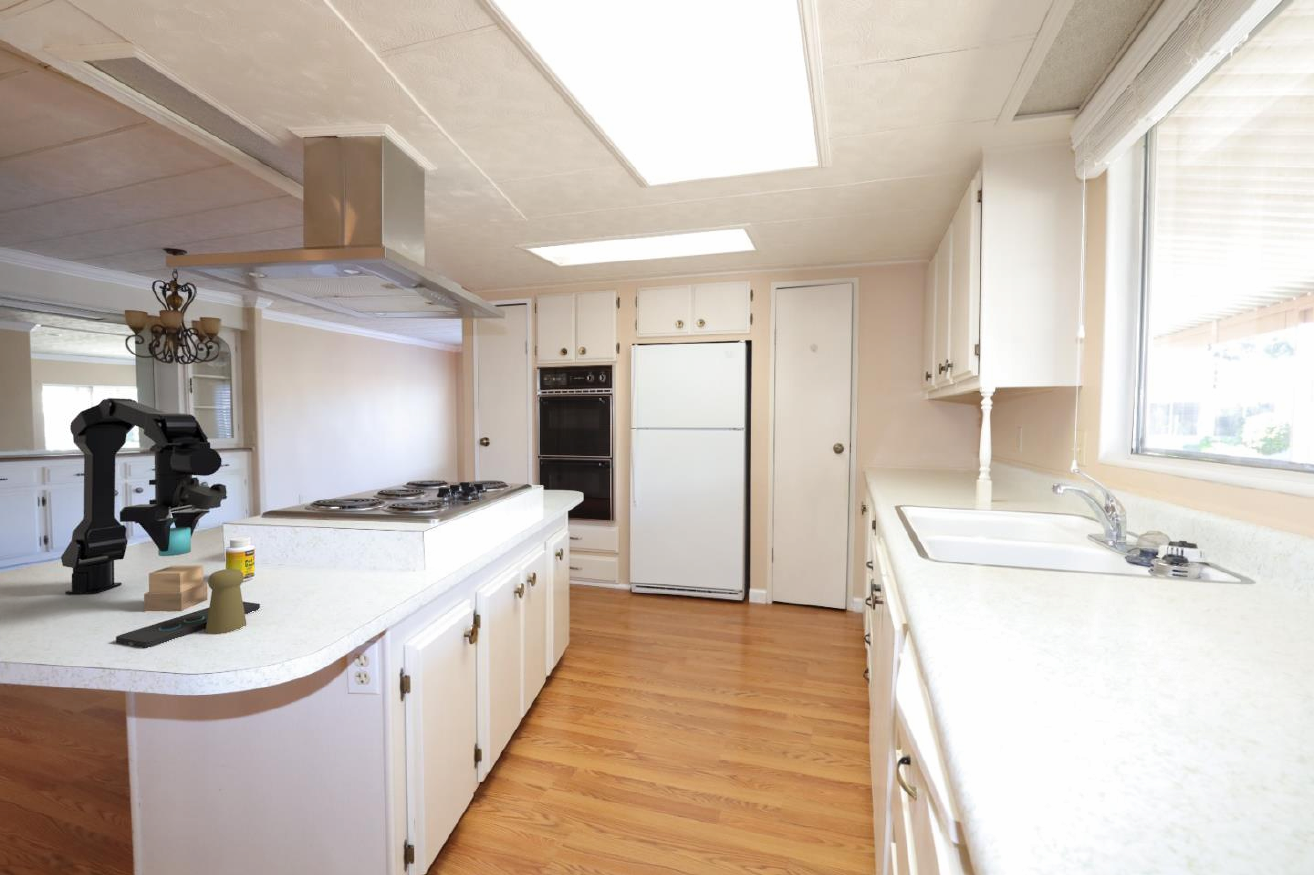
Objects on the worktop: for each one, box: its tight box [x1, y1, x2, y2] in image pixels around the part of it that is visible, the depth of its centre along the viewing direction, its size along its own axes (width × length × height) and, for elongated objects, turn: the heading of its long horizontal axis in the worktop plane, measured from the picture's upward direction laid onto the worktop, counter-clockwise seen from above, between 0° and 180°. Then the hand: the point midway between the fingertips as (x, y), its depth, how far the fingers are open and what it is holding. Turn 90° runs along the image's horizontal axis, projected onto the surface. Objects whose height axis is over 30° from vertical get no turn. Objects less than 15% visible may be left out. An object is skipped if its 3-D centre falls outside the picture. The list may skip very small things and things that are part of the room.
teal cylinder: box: [157, 527, 192, 557], centre depth 110 cm, size 5×5×5 cm
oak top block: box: [148, 564, 204, 593], centre depth 111 cm, size 6×6×4 cm
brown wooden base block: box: [143, 582, 208, 612], centre depth 111 cm, size 7×7×4 cm
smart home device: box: [115, 601, 261, 649], centre depth 101 cm, size 8×2×20 cm
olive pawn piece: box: [205, 568, 247, 635], centre depth 99 cm, size 6×6×11 cm
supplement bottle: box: [225, 536, 256, 583], centre depth 128 cm, size 6×6×10 cm
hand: (174, 548), depth 110 cm, fingers closed on teal cylinder, 5 cm apart
